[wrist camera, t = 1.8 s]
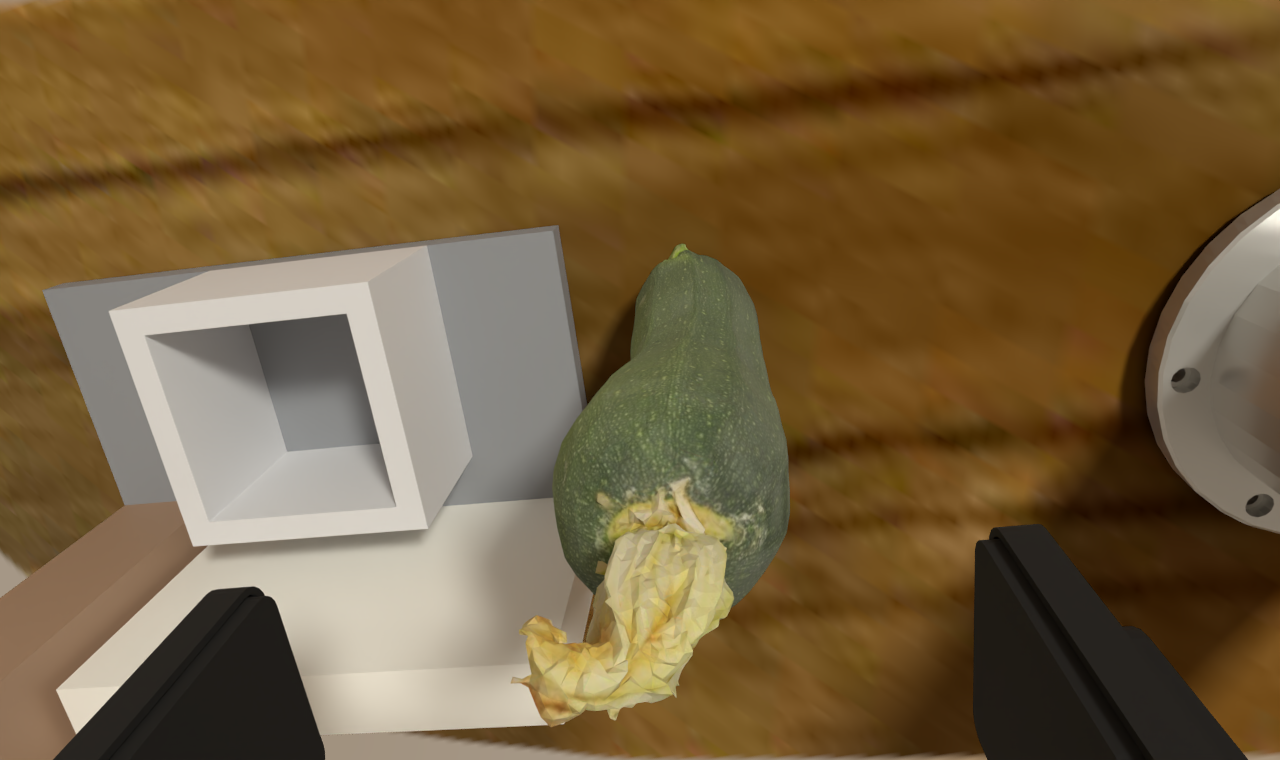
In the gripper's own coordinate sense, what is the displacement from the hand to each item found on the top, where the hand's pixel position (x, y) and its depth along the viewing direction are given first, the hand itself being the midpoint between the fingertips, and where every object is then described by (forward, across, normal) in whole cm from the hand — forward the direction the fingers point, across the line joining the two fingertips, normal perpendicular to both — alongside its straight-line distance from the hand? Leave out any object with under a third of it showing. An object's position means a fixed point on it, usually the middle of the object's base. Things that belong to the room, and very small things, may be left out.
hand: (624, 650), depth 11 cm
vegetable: (+18, -1, 0) cm, 18 cm away
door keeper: (+18, +12, +3) cm, 22 cm away
